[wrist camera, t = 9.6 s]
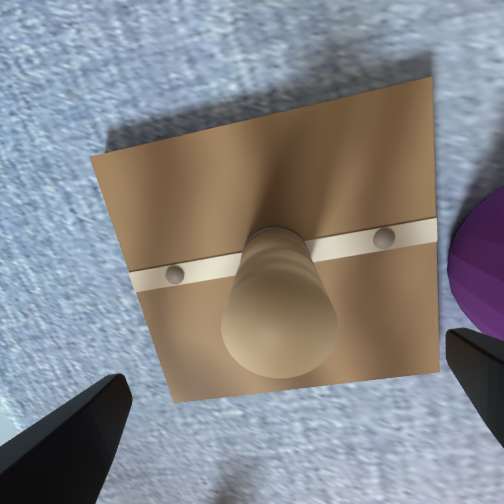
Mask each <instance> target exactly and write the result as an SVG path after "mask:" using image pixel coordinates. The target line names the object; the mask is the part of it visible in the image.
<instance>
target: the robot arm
mask: <svg viewBox="0 0 504 504" xmlns="http://www.w3.org/2000/svg"><path fill="white" fill-rule="evenodd" d="M446 360H447V363H448V365H449V367H450V369H451V370H452V372H453V373H454V375H455V377H456V378H457V380H458V381H459V383H460V385H461V386H462V388H463V389H464V391H465V393H466V394H467V396H468V397H469V399H470V401H471V402H472V404H473V405H474V407H475V408H476V410H477V412H478V413H479V415H480V416H481V418H482V419H483V421H484V422H485V424H486V425H487V427H488V428H489V429H490V431H491V432H492V434H493V435H494V436H495V438H496V439H497V440H498V442H499V443H500V444H501V445H502V447H503V448H504V341H502V340H500V339H497V338H494V337H491V336H488V335H485V334H482V333H479V332H477V331H474V330H471V329H468V328H456V329H449V330H448V331H447V332H446ZM131 406H132V394H131V391H130V389H129V386H128V384H127V381H126V378H125V376H124V375H123V374H121V373H118V374H111V375H107V376H105V377H104V378H102V379H101V380H99V381H98V382H96V383H95V384H93V385H92V386H90V387H89V388H87V389H86V390H84V391H83V392H81V393H80V394H78V395H77V396H75V397H74V398H72V399H71V400H69V401H68V402H66V403H65V404H63V405H62V406H60V407H59V408H57V409H56V410H54V411H53V412H51V413H50V414H48V415H47V416H45V417H44V418H42V419H41V420H39V421H38V422H36V423H35V424H33V425H32V426H30V427H29V428H27V429H26V430H24V431H23V432H21V433H20V434H18V435H17V436H15V437H14V438H12V439H11V440H9V441H8V442H6V443H5V444H3V445H2V446H0V504H95V503H96V501H97V498H98V496H99V494H100V491H101V489H102V487H103V484H104V482H105V479H106V477H107V475H108V472H109V470H110V467H111V465H112V462H113V460H114V457H115V454H116V451H117V448H118V445H119V442H120V439H121V436H122V433H123V430H124V427H125V424H126V421H127V418H128V415H129V412H130V409H131Z"/></svg>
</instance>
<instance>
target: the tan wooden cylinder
mask: <svg viewBox="0 0 504 504" xmlns="http://www.w3.org/2000/svg"><path fill="white" fill-rule="evenodd" d="M221 332H222V338H223V341H224V344H225V346H226V348H227V350H228V351H229V353H230V354H231V356H232V357H233V358H234V359H235V360H236V361H237V362H238V363H239V364H240V365H241V366H243V367H244V368H246V369H247V370H249V371H251V372H253V373H255V374H258V375H261V376H265V377H269V378H291V377H296V376H300V375H303V374H305V373H308V372H310V371H311V370H313V369H315V368H316V367H318V366H319V365H320V364H321V363H323V362H324V361H325V360H326V358H327V357H328V356H329V355H330V353H331V351H332V350H333V348H334V346H335V343H336V340H337V336H338V320H337V315H336V313H335V310H334V307H333V305H332V303H331V301H330V299H329V296H328V294H327V292H326V290H325V287H324V285H323V283H322V281H321V279H320V276H319V274H318V272H317V270H316V268H315V265H314V263H313V261H312V259H311V256H310V253H309V250H308V248H307V245H306V244H305V242H304V240H303V239H302V237H301V236H300V235H299V234H297V233H296V232H295V231H293V230H291V229H289V228H286V227H282V226H269V227H265V228H263V229H260V230H258V231H257V232H255V233H254V234H253V235H252V236H251V237H250V238H249V239H248V241H247V242H246V244H245V246H244V249H243V252H242V256H241V261H240V264H239V267H238V270H237V273H236V276H235V279H234V282H233V285H232V288H231V291H230V294H229V297H228V300H227V303H226V306H225V309H224V312H223V316H222V322H221Z"/></svg>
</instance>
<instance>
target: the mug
mask: <svg viewBox="0 0 504 504" xmlns="http://www.w3.org/2000/svg"><path fill="white" fill-rule="evenodd" d="M447 273H448V278H449V283H450V288H451V292H452V294H453V296H454V298H455V299H456V301H457V303H458V305H459V307H460V308H461V310H462V311H463V312H464V313H465V315H466V316H467V317H468V318H469V319H470V320H471V322H472V323H473V324H474V325H475V326H476V327H477V328H478V329H479V330H480V331H481V332H482V333H483V334H485V335H488V336H491V337H494V338H497V339H500V340H502V341H504V187H503V188H502V189H500V190H498V191H496V192H495V193H493V194H491V195H489V196H488V197H487V198H486V199H485V200H484V201H483V202H482V203H480V204H479V205H478V206H477V207H476V208H475V209H474V210H473V211H472V212H471V213H470V214H469V216H468V217H467V218H466V220H465V221H464V223H463V224H462V225H461V227H460V228H459V230H458V231H457V234H456V236H455V238H454V241H453V243H452V246H451V248H450V250H449V257H448V265H447Z"/></svg>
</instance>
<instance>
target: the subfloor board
mask: <svg viewBox="0 0 504 504" xmlns="http://www.w3.org/2000/svg"><path fill="white" fill-rule="evenodd" d="M90 159H91V162H92V165H93V168H94V171H95V174H96V177H97V180H98V183H99V186H100V189H101V192H102V194H103V197H104V200H105V203H106V206H107V209H108V212H109V215H110V218H111V221H112V224H113V226H114V229H115V232H116V235H117V238H118V241H119V244H120V247H121V250H122V253H123V256H124V259H125V261H126V264H127V267H128V270H129V276H130V279H131V282H132V285H133V287H134V290H135V292H136V293H137V296H138V299H139V302H140V305H141V308H142V311H143V314H144V317H145V320H146V323H147V326H148V328H149V331H150V334H151V337H152V340H153V343H154V346H155V349H156V352H157V355H158V358H159V360H160V363H161V366H162V369H163V372H164V375H165V378H166V381H167V384H168V387H169V390H170V393H171V395H172V398H173V401H174V403H178V402H187V401H195V400H204V399H213V398H221V397H230V396H238V395H247V394H256V393H264V392H273V391H282V390H290V389H299V388H307V387H316V386H325V385H333V384H342V383H350V382H359V381H368V380H376V379H385V378H393V377H402V376H411V375H419V374H428V373H437V372H440V365H439V324H438V282H437V218H436V199H435V158H434V116H433V76H432V77H428V78H424V79H419V80H415V81H411V82H406V83H402V84H398V85H394V86H389V87H385V88H381V89H377V90H372V91H368V92H364V93H360V94H355V95H351V96H347V97H343V98H338V99H334V100H330V101H326V102H321V103H317V104H313V105H309V106H304V107H300V108H296V109H292V110H287V111H283V112H279V113H275V114H270V115H266V116H262V117H257V118H253V119H249V120H245V121H240V122H236V123H232V124H228V125H223V126H219V127H215V128H211V129H206V130H202V131H198V132H194V133H189V134H185V135H181V136H177V137H172V138H168V139H164V140H160V141H155V142H151V143H147V144H143V145H138V146H134V147H130V148H125V149H121V150H117V151H113V152H108V153H104V154H100V155H96V156H91V157H90ZM269 226H282V227H286V228H289V229H291V230H293V231H295V232H296V233H297V234H299V235H300V236H301V237H302V239H303V240H304V242H305V244H306V245H307V248H308V250H309V253H310V256H311V259H312V261H313V263H314V265H315V268H316V270H317V272H318V274H319V276H320V279H321V281H322V283H323V285H324V287H325V290H326V292H327V294H328V296H329V299H330V301H331V303H332V305H333V307H334V310H335V313H336V315H337V320H338V336H337V340H336V343H335V346H334V348H333V350H332V351H331V353H330V355H329V356H328V357H327V358H326V360H325V361H324V362H323V363H321V364H320V365H319V366H318V367H316V368H315V369H313V370H311V371H310V372H308V373H305V374H303V375H300V376H296V377H291V378H269V377H265V376H261V375H258V374H255V373H253V372H251V371H249V370H247V369H246V368H244V367H243V366H241V365H240V364H239V363H238V362H237V361H236V360H235V359H234V358H233V357H232V356H231V354H230V353H229V351H228V350H227V348H226V346H225V344H224V341H223V338H222V332H221V322H222V316H223V312H224V309H225V306H226V303H227V300H228V297H229V294H230V291H231V288H232V285H233V282H234V279H235V276H236V273H237V270H238V267H239V264H240V261H241V256H242V252H243V249H244V246H245V244H246V242H247V241H248V239H249V238H250V237H251V236H252V235H253V234H254V233H255V232H257V231H258V230H260V229H263V228H265V227H269Z"/></svg>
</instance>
